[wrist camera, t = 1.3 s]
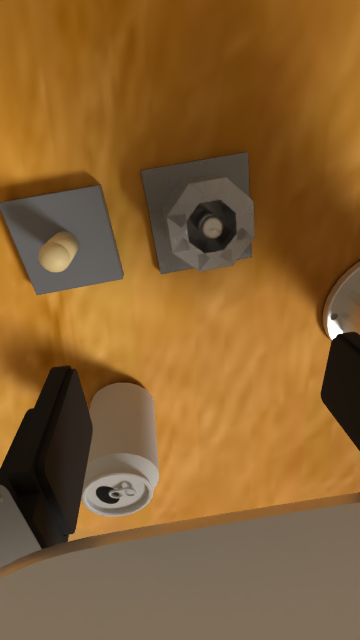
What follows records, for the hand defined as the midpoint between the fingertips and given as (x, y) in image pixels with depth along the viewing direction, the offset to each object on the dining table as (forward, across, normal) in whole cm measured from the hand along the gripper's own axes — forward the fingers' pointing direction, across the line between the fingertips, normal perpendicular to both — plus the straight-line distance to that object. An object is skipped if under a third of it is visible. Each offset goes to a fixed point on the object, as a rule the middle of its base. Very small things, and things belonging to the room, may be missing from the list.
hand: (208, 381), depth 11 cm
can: (+20, +7, +18) cm, 28 cm away
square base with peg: (+20, +9, -1) cm, 22 cm away
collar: (+19, -3, -2) cm, 19 cm away
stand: (+20, -3, -2) cm, 20 cm away
